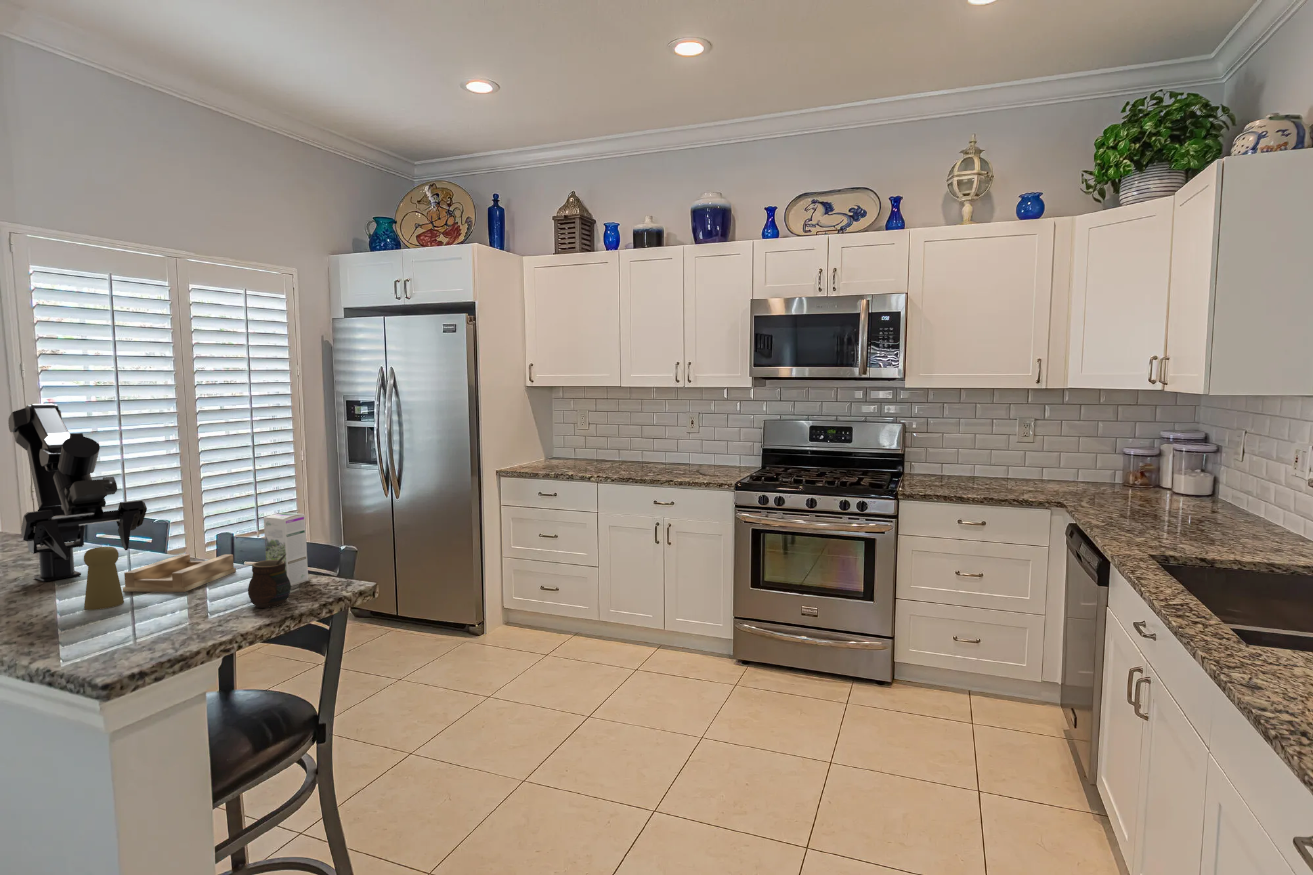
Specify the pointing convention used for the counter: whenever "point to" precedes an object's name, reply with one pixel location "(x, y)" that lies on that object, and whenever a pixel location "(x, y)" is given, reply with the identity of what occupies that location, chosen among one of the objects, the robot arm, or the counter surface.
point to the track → (177, 574)
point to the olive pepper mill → (102, 579)
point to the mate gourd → (269, 583)
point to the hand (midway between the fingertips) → (97, 553)
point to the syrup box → (287, 544)
